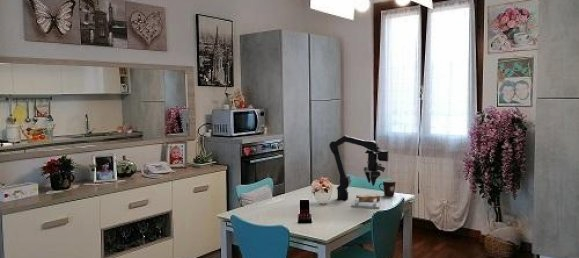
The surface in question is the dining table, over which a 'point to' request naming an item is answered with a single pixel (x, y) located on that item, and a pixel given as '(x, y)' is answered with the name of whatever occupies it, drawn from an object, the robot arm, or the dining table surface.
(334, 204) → the dining table surface
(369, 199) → the shelf board
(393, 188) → the coffee mug
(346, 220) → the dining table surface
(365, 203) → the peg plate
